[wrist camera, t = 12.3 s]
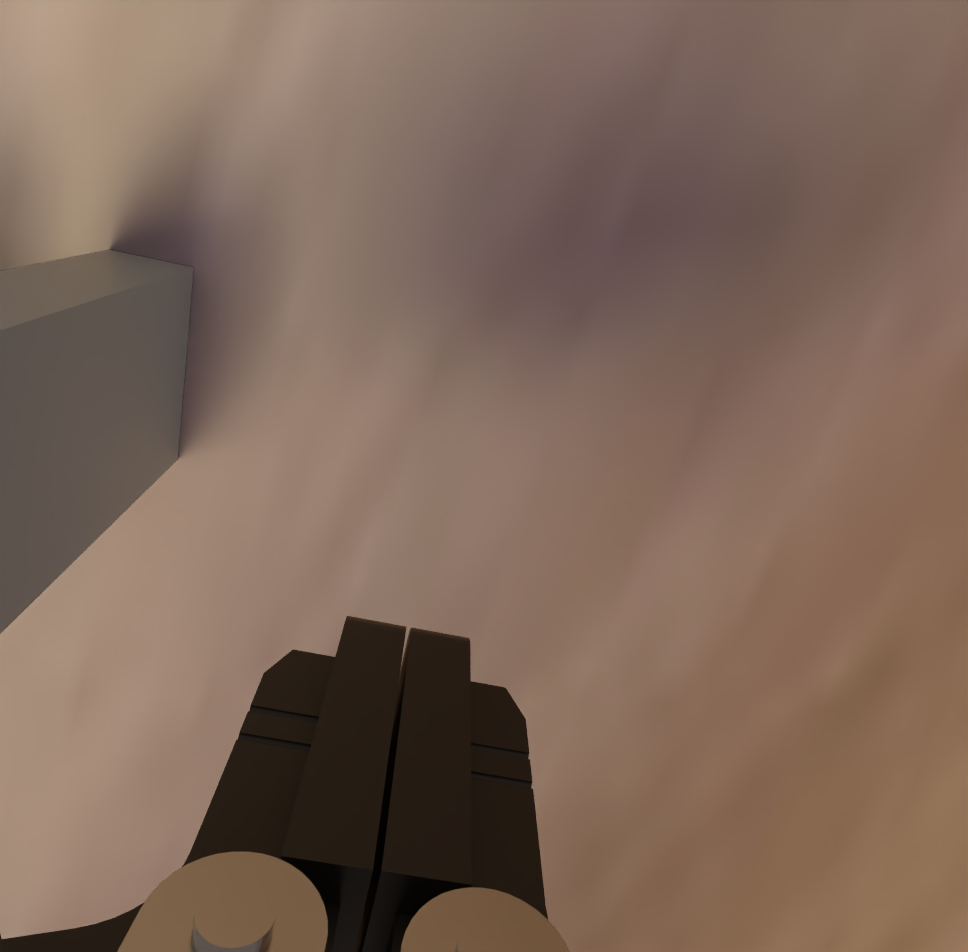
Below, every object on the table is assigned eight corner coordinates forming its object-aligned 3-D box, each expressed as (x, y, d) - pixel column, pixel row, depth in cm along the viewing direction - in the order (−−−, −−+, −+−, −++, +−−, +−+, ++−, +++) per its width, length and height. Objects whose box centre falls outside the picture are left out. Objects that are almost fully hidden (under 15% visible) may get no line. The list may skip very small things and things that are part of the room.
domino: (194, 267, 19) (-68, 352, 10) (178, 459, 21) (-58, 691, 11) (108, 249, 19) (-244, 318, 9) (99, 444, 20) (-207, 668, 11)
